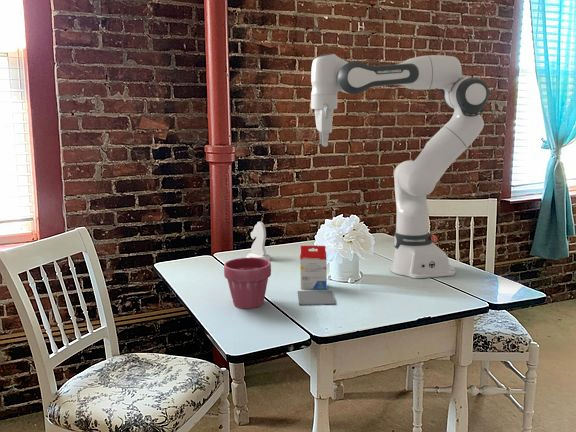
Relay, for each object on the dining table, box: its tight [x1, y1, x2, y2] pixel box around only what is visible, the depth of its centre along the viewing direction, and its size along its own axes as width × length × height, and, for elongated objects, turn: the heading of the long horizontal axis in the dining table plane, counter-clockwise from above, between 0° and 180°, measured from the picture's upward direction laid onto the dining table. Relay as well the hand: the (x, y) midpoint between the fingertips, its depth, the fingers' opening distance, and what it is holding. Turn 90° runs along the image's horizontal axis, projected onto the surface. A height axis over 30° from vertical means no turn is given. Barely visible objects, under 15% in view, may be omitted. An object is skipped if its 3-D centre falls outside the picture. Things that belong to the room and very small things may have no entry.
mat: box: [297, 290, 337, 306], centre depth 178 cm, size 11×12×1 cm
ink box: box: [299, 245, 328, 290], centre depth 187 cm, size 8×5×15 cm, turn 84°
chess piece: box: [245, 221, 272, 261], centre depth 221 cm, size 10×10×15 cm
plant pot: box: [223, 257, 272, 309], centre depth 173 cm, size 14×14×13 cm
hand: (323, 145), depth 195 cm, fingers open, 8 cm apart
